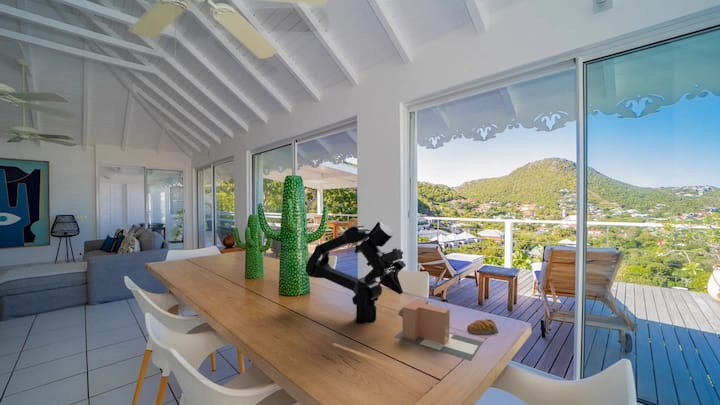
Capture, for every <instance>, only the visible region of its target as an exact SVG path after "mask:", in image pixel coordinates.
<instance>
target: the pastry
mask: <svg viewBox="0 0 720 405" xmlns="http://www.w3.org/2000/svg"><path fill="white" fill-rule="evenodd" d="M466 331H467V332H468V333H471V334H474V335H490V334H498V333H499V329H498V326H497V325H496V322H495V321H494V320H493V319H490V318H485V319H477V320H475V321H473V322H471V323H470V324H469V325H467V329H466Z"/></svg>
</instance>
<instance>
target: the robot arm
mask: <svg viewBox="0 0 720 405" xmlns="http://www.w3.org/2000/svg"><path fill="white" fill-rule="evenodd" d="M393 236H394V232H393V230H392V228H391V227H389V226H388V225H386V224H385V223H383V222H382V221H377V223H375V225H374V226H373V228H372V229H368V228H367V227H366V226H364V225H359V226H358V225H355V226H350V227H349V228H348V229H346V230H345V231H344V232H343V233H342V234H341V235H339V236H336V237H334V238H332V239H330V240H327V241H325V242H322V243H320V244H317V245H316V246H315V248H314V251H313V253H312V254H311V255H310V256H309V258H308V261H307V263H306V266H305V272H306V275H307V276H308V277H309V278H315V279H325V280H327V281H329V282H332V283H334V284H336V285H339V286H340V287H343V288H344V289H345V288H346V289H348V290H349V291H353V293H354V294H355V295H354V296H353V297H352V298H351V299H352V300H351V301H352V304H353V305H355V306H356V307H355V308H356V314H355V315H356V316H355V318H356V319H355V324H366V323H368V324H369V323H370V324H371V323H372V324H373V323H375V321H376V320H377V306H376V305H375V304H376V302H377V301H378V300H379V297H380V296H381V295H382V293H383V288H382V286H384V287H385V288H387V289H390V290H391V291H392V292H395V293H397V294H398V295H401V294H403V293H404V291H403V288H402V286H401V283H400V279H399V273H400V272H401V271H402V270H403V269H404V268H405V267H406V265H407V264H406V263H405V262H404V261H403V260H402V259H404V257H403V254H404V251H403V250H402V249H401V248H399V247H394V248H392V250H391V251H389V252H386V251H381V249H380V248H379V247H382V248H383V247H384V246H385V245H386V244H387V242H389V241H390V239H392V238H393ZM356 243H360V244H358V245H357V244H356ZM350 244H356V245H355V249H354V253H355V254H360V253H361V254H362V255H363V256H364V258H365V260H366V261H367V262H366V265H367V267H369V266H370V267H371V268H372V269H371V270H370V271H368V273H367V274H366V275H365V276H364V277H360V278H357V277H355V276H352V275H350V274H348V273H345V272H342V271H340V270H337V269H335V268H333V267H331V265H330V264H329V262H330V257H329V254H330V252H333V251H335V250H337V249H340V248H342V247H345V246H346V245H350ZM320 258H321V259H320ZM378 278H379V281H378V280H377V279H378ZM381 285H382V286H381Z"/></svg>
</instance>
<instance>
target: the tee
mask: <svg viewBox="0 0 720 405" xmlns="http://www.w3.org/2000/svg"><path fill="white" fill-rule="evenodd" d="M402 308H403V316H402V330H401V331H402V337H404V338H408V339H411V340H414V341H415V340H416V339H417V338H418V337H421V338H424V339H428V340H431V341H434V342H438V343H441V344H446V343H447V341H448V340H449V333H450V321H451V320H450V317H451V316H450V314H451V312H450V310H451V309H450V308H447V307H441V306H436V305H432V304H429V300H424V299H419V298H415V299H414V300H412V301H410V302H408V303H407V304H405V305H404V306H402Z"/></svg>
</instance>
